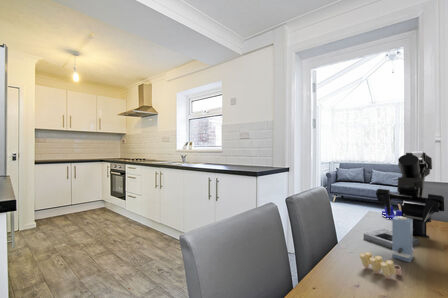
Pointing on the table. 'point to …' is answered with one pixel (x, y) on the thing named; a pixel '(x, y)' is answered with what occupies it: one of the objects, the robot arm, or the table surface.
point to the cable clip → (392, 213)
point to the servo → (402, 238)
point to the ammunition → (380, 264)
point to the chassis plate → (380, 234)
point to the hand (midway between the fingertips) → (405, 218)
